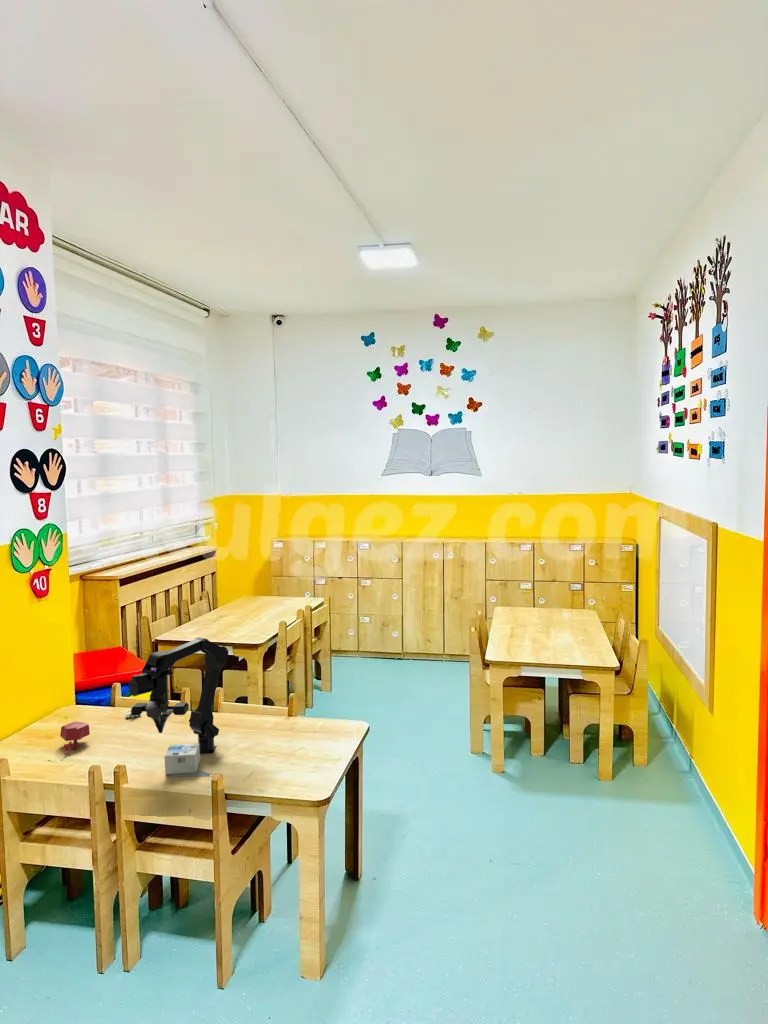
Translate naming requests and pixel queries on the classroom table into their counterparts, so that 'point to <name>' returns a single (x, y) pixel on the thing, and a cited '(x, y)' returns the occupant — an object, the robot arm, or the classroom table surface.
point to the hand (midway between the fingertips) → (160, 732)
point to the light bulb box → (182, 758)
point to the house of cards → (129, 714)
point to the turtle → (74, 734)
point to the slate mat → (192, 774)
